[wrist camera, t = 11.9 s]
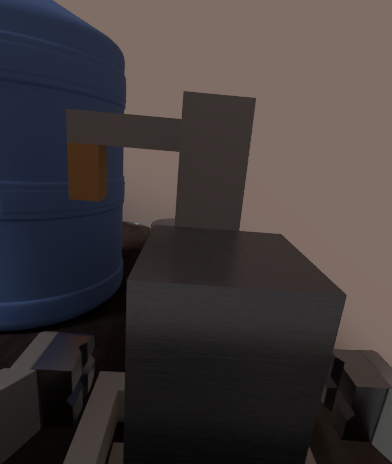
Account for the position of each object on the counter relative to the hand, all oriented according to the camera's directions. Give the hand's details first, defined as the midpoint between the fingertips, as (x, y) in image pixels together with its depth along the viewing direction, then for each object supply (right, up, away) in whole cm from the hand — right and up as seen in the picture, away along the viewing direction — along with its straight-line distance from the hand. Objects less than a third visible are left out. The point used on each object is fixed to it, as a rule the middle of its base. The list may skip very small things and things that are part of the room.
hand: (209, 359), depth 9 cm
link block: (-1, -7, +1) cm, 7 cm away
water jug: (-15, -1, +19) cm, 24 cm away
